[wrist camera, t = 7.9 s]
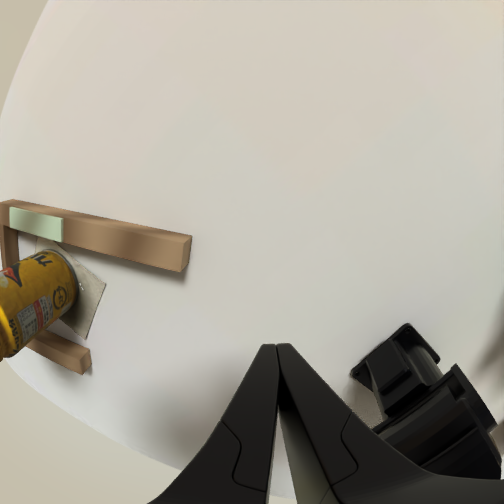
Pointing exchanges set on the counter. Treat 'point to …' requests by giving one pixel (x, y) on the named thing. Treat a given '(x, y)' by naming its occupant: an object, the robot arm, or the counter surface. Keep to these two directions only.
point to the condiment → (45, 296)
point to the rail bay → (93, 238)
